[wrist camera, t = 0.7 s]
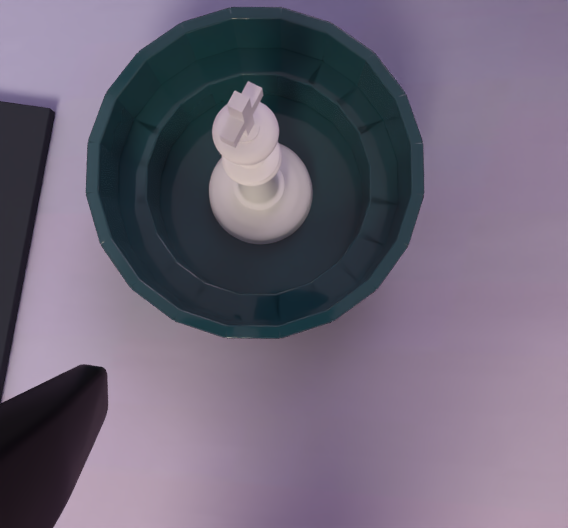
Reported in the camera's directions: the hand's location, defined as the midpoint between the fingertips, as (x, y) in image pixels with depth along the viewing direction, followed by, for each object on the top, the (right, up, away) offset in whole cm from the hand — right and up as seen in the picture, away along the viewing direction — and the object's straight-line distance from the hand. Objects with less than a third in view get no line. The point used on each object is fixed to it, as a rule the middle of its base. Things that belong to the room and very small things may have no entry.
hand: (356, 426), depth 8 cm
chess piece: (-2, +6, +14) cm, 15 cm away
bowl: (-2, +6, +14) cm, 15 cm away
